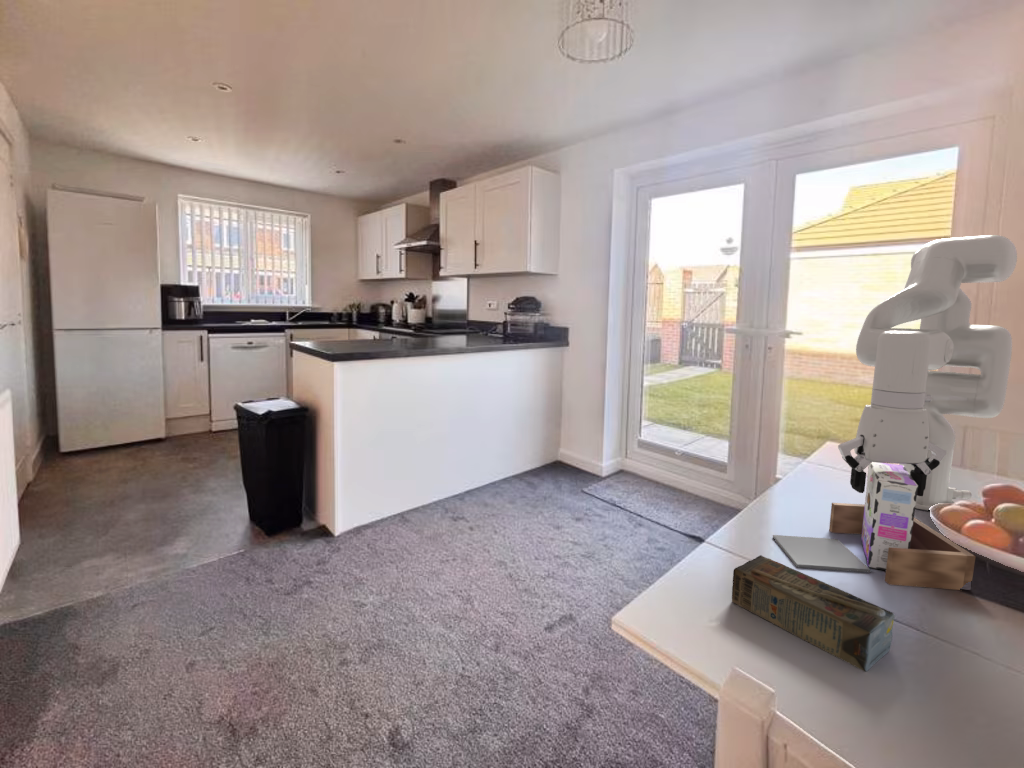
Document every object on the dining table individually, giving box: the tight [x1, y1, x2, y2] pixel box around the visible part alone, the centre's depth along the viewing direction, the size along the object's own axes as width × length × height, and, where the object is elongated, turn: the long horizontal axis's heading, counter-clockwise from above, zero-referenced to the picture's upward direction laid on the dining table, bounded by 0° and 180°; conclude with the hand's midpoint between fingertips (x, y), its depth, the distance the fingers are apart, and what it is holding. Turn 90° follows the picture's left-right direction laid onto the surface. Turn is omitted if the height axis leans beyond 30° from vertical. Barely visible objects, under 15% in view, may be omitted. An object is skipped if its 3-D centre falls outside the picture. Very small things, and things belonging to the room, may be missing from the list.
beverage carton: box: [731, 554, 896, 672], centre depth 73 cm, size 8×19×7 cm, turn 34°
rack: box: [828, 502, 976, 591], centre depth 93 cm, size 12×21×6 cm, turn 171°
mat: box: [772, 534, 872, 574], centre depth 95 cm, size 12×12×1 cm
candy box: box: [860, 462, 918, 572], centre depth 93 cm, size 14×6×16 cm, turn 150°
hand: (886, 492), depth 92 cm, fingers open, 9 cm apart
